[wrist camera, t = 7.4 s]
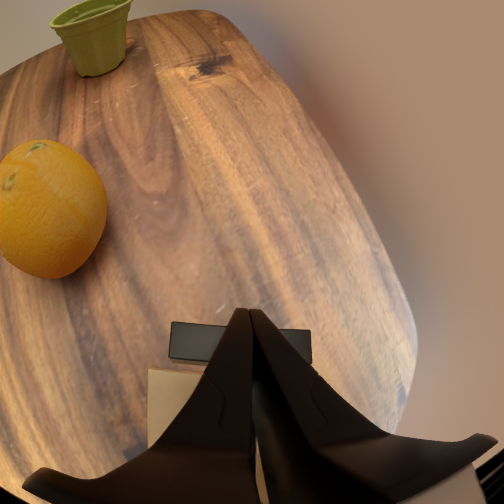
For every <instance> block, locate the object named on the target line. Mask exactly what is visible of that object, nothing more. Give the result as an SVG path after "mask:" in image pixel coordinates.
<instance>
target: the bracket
mask: <svg viewBox="0 0 504 504" xmlns="http://www.w3.org/2000/svg"><path fill="white" fill-rule="evenodd" d="M203 373H204V372H192V371H182V370H173V369H164V368H157V367H151V368H149V369H148V390H147V432H148V449H149V448H150V447H151V446H152V445H153V444H154V443H155V442H156V441H157V440H158V438H159V437H160V436H161V435H162V434H163V432H164V431H165V430H166V428H167V427H168V426H169V425H170V423H171V422H172V421H173V419H174V418H175V417H176V415H177V414H178V413H179V412H180V410H181V409H182V408H183V406H184V405H185V403H186V402H187V400H188V399H189V397H190V396H191V394H192V393H193V391H194V389H195V387H196V386H197V384H198V382H199V380H200V378H201V376H202V374H203ZM265 484H266V483H265V480H264V475H263V470H262V465H261V459H260V454H259V449H258V443H257V488H258V492H259V497H260V501H262V502H263V504H269V501H268V496H267V491H266V486H265Z"/></svg>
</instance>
